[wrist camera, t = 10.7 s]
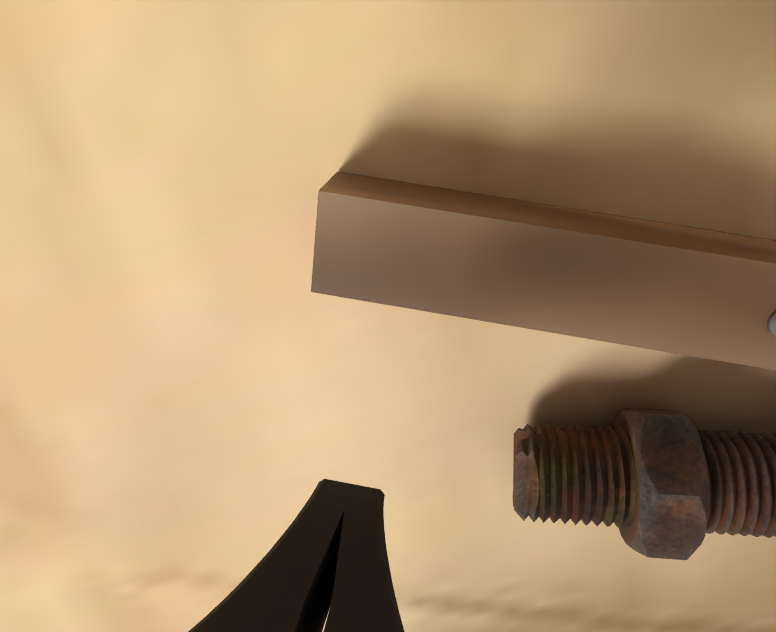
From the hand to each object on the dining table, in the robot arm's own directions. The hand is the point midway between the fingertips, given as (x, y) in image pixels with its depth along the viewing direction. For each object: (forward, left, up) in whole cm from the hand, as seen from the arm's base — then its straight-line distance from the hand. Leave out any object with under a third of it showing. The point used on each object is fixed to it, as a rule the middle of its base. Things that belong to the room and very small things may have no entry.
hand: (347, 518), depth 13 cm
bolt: (-2, -12, -9) cm, 15 cm away
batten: (+4, -11, -8) cm, 14 cm away
